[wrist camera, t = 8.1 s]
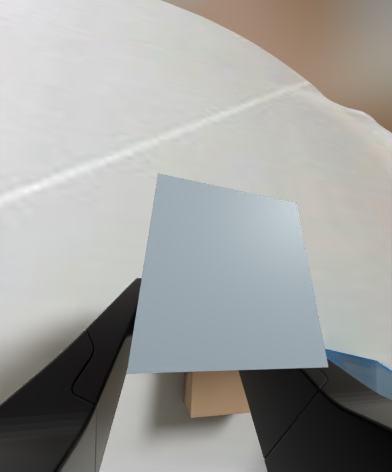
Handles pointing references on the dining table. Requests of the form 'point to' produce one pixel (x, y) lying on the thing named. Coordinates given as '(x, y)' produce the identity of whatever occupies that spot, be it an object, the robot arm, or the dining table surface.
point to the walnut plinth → (214, 393)
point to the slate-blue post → (224, 284)
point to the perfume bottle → (365, 371)
